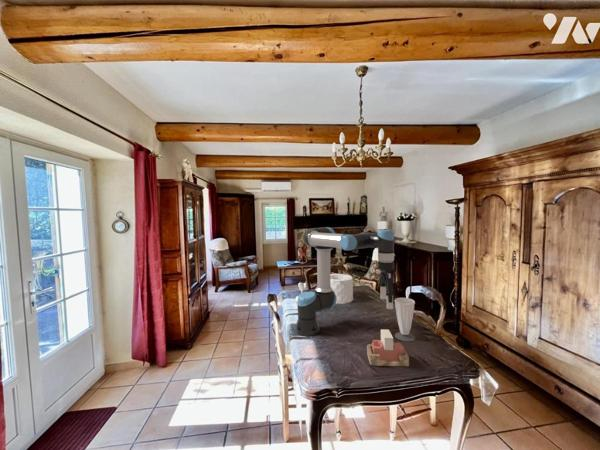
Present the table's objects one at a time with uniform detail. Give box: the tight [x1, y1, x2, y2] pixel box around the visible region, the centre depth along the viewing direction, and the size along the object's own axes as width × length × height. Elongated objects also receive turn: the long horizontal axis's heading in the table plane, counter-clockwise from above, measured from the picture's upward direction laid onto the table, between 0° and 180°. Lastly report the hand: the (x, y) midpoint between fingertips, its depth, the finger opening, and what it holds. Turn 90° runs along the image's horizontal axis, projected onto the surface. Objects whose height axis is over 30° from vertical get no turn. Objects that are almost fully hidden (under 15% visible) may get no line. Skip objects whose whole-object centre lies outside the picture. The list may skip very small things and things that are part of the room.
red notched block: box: [371, 339, 405, 361], centre depth 131 cm, size 14×6×8 cm, turn 85°
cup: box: [393, 297, 416, 342], centre depth 154 cm, size 12×12×22 cm
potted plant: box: [295, 282, 307, 306], centre depth 200 cm, size 13×12×25 cm
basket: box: [330, 273, 354, 305], centre depth 224 cm, size 25×24×19 cm
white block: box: [380, 328, 394, 350], centre depth 130 cm, size 9×4×6 cm, turn 174°
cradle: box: [366, 343, 410, 367], centre depth 131 cm, size 18×11×5 cm, turn 85°
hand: (386, 303), depth 129 cm, fingers open, 13 cm apart
